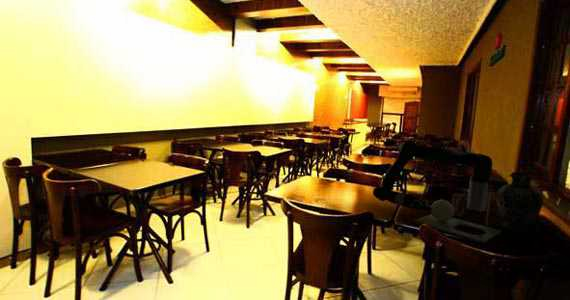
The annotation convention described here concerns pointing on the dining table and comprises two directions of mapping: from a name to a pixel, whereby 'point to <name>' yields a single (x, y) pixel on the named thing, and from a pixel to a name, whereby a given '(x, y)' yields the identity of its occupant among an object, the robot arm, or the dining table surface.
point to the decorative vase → (519, 202)
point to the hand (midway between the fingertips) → (434, 207)
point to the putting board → (464, 224)
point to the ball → (442, 210)
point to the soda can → (459, 204)
